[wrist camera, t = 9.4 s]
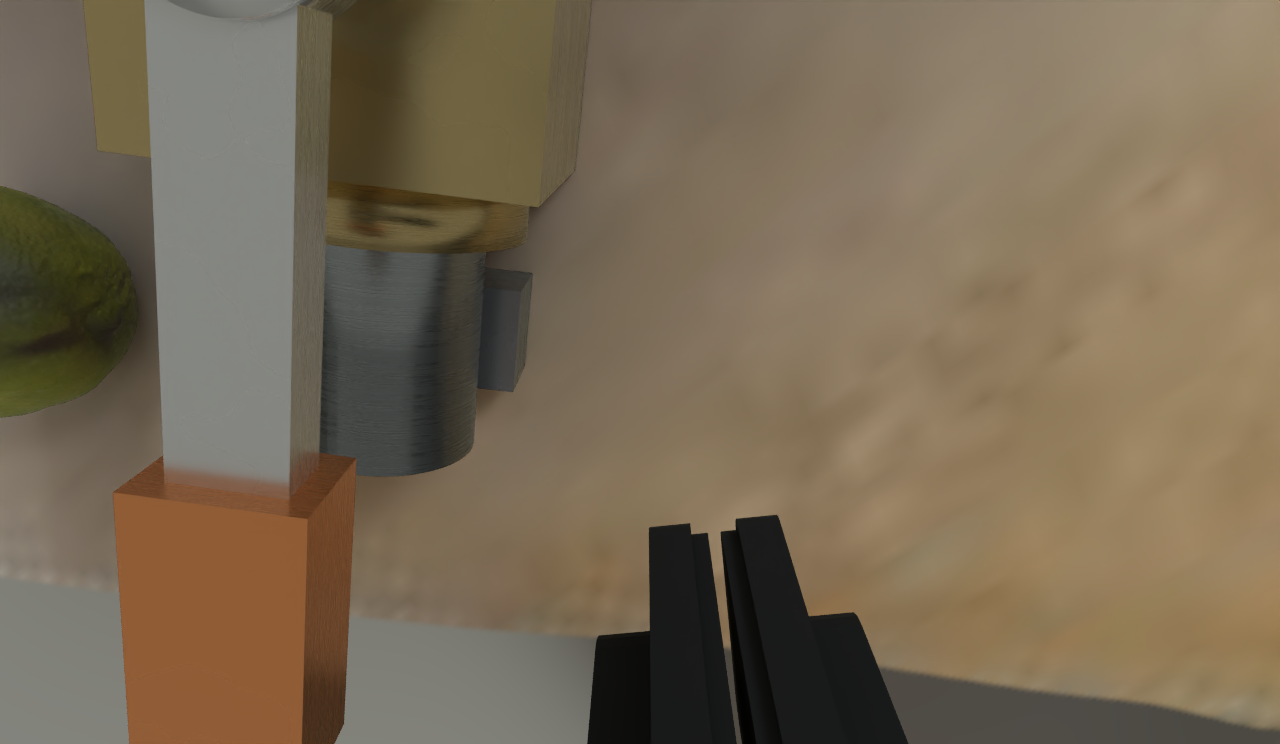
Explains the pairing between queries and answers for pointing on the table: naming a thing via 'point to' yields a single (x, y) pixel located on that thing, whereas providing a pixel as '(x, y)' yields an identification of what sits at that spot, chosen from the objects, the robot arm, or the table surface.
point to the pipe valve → (410, 201)
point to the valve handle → (238, 391)
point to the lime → (57, 305)
